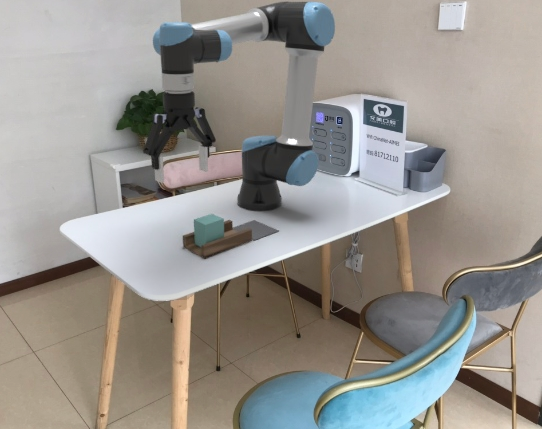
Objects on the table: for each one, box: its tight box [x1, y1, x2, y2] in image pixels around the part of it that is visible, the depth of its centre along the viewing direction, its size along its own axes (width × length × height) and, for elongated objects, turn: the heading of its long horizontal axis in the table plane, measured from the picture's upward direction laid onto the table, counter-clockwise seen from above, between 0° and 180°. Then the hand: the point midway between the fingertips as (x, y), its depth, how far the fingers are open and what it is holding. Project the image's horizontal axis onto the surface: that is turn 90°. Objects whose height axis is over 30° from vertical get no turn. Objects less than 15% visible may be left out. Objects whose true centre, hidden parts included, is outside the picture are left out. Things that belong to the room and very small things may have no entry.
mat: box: [233, 219, 280, 242], centre depth 162 cm, size 11×10×1 cm
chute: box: [182, 219, 253, 259], centre depth 153 cm, size 10×17×4 cm, turn 134°
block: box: [193, 213, 225, 247], centre depth 149 cm, size 5×6×8 cm
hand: (182, 175), depth 136 cm, fingers open, 13 cm apart
